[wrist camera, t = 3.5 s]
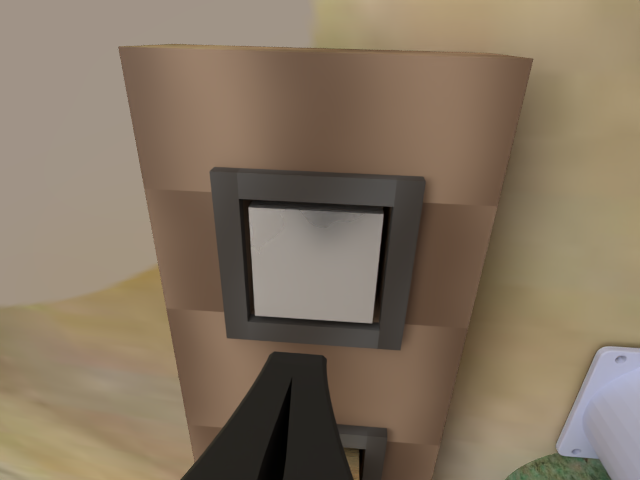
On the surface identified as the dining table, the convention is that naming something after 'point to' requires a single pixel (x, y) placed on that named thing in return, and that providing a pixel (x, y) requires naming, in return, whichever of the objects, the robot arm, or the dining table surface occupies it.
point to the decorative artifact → (561, 469)
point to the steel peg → (315, 259)
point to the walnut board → (334, 188)
